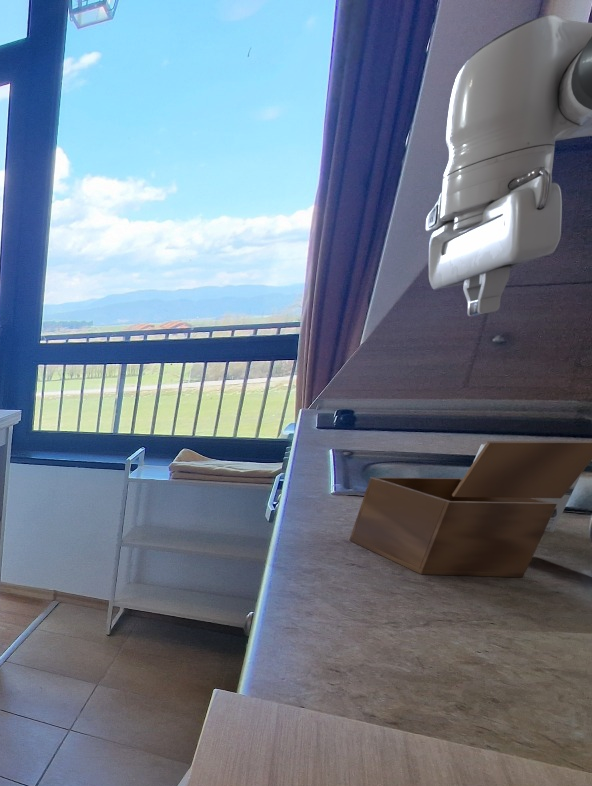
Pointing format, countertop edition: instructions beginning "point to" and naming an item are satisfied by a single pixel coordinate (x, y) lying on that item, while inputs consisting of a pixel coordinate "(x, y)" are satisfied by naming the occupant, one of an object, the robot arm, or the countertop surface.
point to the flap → (525, 469)
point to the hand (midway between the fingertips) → (482, 314)
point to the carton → (449, 527)
